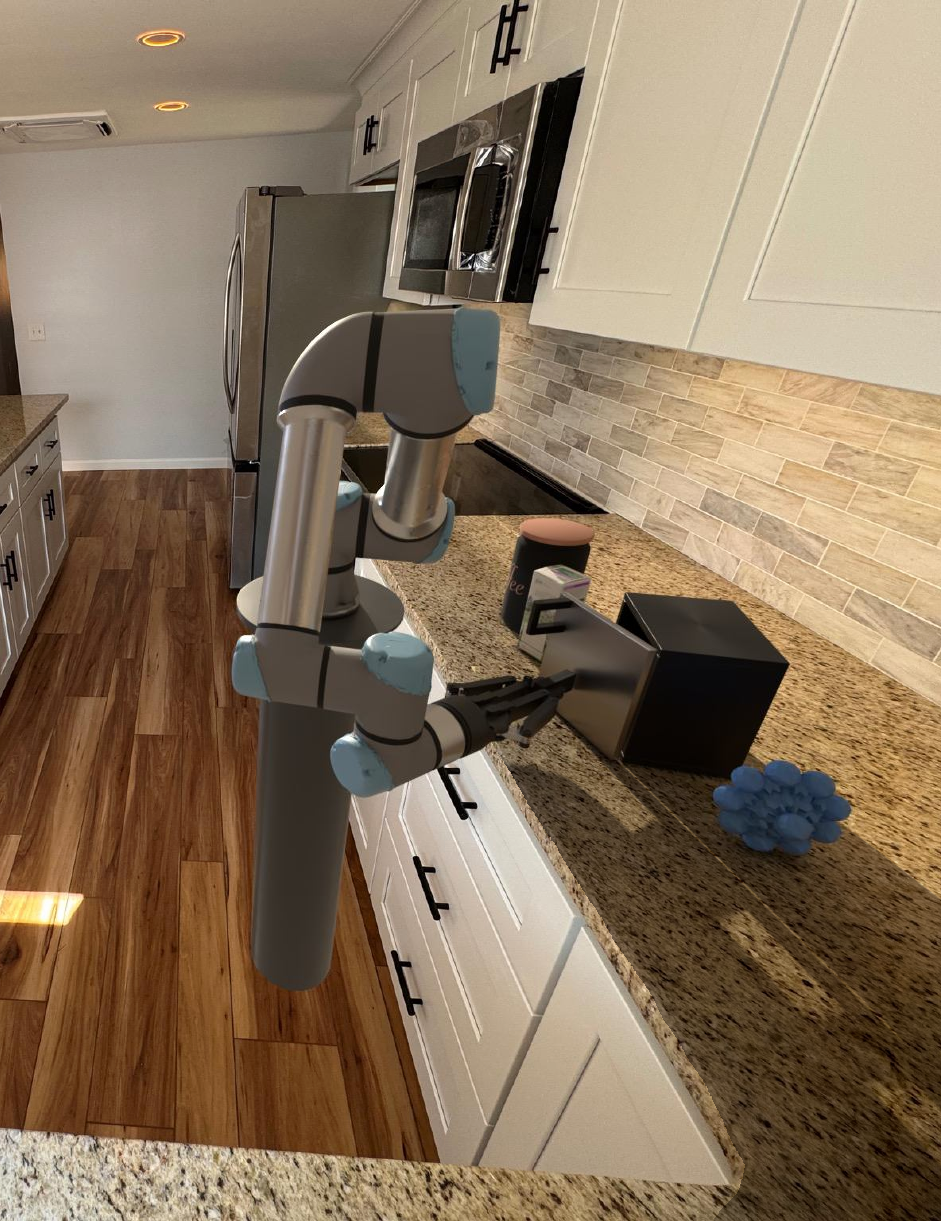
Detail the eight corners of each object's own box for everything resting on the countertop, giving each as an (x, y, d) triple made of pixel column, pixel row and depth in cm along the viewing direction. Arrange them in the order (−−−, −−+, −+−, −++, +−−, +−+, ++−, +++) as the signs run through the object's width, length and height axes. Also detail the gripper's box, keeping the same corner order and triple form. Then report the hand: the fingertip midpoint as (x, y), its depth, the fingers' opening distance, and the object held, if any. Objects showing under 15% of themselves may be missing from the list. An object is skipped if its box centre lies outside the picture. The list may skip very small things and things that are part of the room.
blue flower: (710, 868, 72) (751, 783, 66) (685, 823, 77) (721, 740, 72) (848, 892, 68) (904, 804, 62) (811, 842, 74) (860, 757, 68)
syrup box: (571, 657, 109) (594, 576, 102) (542, 664, 107) (563, 583, 101) (542, 640, 114) (563, 562, 107) (514, 647, 112) (533, 569, 106)
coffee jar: (504, 605, 125) (525, 514, 117) (571, 618, 120) (597, 523, 111) (494, 629, 118) (515, 534, 110) (564, 644, 112) (592, 545, 104)
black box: (621, 762, 87) (661, 649, 79) (592, 693, 100) (625, 591, 92) (736, 780, 83) (790, 663, 75) (690, 706, 96) (733, 600, 88)
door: (573, 764, 87) (608, 654, 79) (501, 694, 101) (525, 595, 93) (618, 759, 87) (657, 649, 79) (540, 690, 101) (567, 591, 93)
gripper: (400, 727, 91) (521, 679, 99) (481, 785, 81) (609, 726, 89) (408, 681, 88) (532, 636, 96) (493, 735, 77) (625, 679, 85)
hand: (569, 679), depth 92 cm, fingers closed
